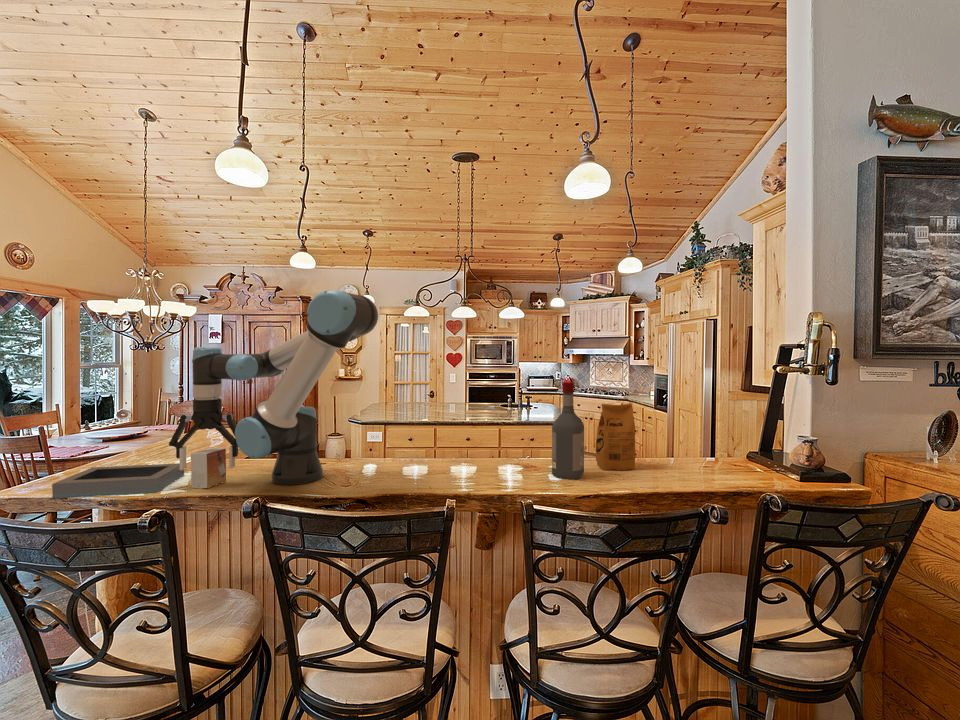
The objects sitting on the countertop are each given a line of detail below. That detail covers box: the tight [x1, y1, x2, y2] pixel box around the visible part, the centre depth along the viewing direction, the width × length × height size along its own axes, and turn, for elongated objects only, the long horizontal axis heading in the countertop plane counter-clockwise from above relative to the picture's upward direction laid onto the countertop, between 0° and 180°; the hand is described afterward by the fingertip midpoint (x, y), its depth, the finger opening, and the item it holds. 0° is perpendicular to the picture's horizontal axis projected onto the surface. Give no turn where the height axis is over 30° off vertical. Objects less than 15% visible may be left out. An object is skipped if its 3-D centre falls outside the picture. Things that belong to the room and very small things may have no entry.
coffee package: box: [595, 403, 636, 472], centre depth 160 cm, size 10×12×22 cm
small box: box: [190, 447, 227, 489], centre depth 141 cm, size 8×6×10 cm
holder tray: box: [51, 462, 185, 499], centre depth 141 cm, size 26×18×4 cm
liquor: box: [551, 381, 585, 481], centre depth 150 cm, size 9×9×30 cm
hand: (207, 468), depth 141 cm, fingers open, 13 cm apart
